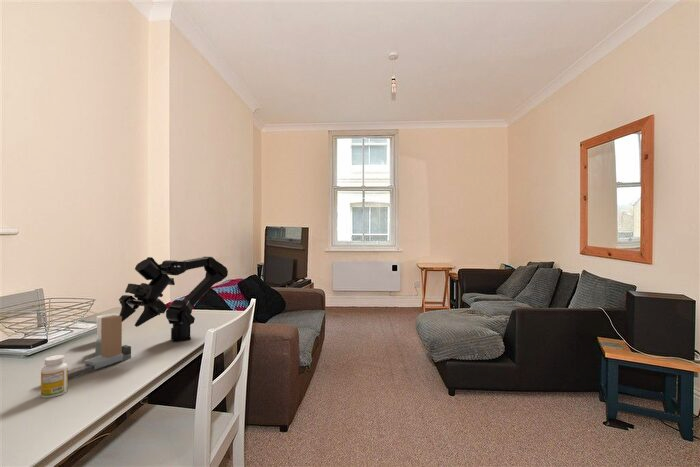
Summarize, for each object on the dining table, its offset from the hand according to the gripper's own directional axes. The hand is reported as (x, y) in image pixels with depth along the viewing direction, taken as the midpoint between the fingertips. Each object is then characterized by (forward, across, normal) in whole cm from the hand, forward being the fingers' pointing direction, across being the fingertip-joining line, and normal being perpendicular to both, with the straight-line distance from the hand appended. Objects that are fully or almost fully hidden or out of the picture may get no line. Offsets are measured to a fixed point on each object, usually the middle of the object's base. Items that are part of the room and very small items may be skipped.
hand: (126, 324), depth 117 cm
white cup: (+2, -25, +15) cm, 29 cm away
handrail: (+16, 0, 0) cm, 16 cm away
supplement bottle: (+26, +8, -10) cm, 29 cm away
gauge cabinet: (+8, -11, +8) cm, 16 cm away
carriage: (+13, 0, +2) cm, 13 cm away
